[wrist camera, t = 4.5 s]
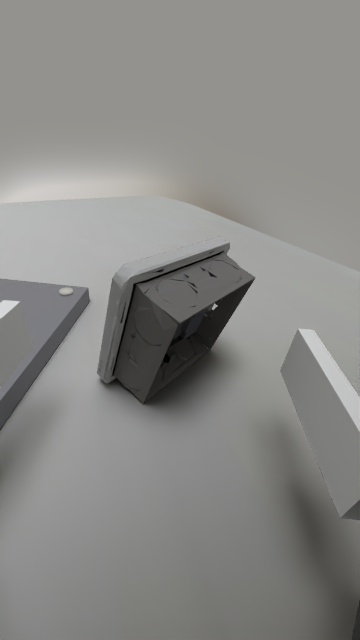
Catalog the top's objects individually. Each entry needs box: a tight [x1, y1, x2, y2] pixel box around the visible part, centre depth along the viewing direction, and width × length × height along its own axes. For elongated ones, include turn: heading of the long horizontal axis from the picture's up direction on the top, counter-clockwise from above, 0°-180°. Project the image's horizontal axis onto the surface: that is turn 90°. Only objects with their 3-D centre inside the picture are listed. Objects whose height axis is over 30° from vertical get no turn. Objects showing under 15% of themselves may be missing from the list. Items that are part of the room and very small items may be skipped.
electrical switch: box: [97, 237, 255, 404], centre depth 17 cm, size 9×5×9 cm, turn 140°
